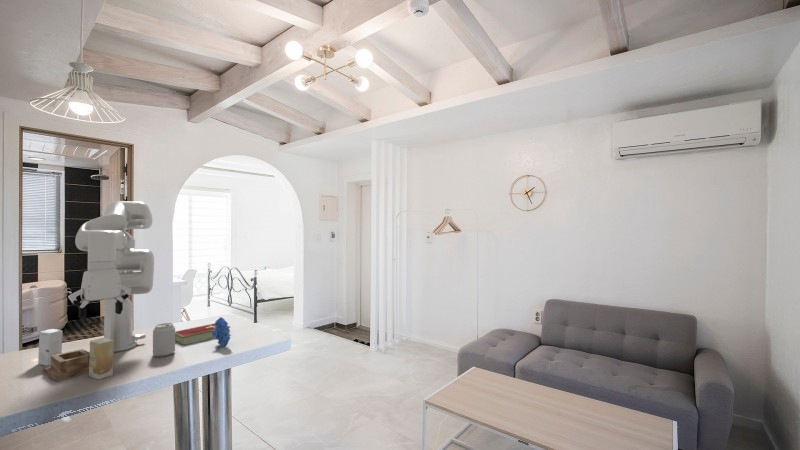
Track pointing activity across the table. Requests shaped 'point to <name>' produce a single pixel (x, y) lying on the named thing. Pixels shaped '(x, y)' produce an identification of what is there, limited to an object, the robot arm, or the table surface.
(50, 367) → the slotted stand
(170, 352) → the can
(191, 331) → the hardcover book
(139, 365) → the table surface
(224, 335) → the grapes
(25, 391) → the table surface
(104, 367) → the skincare box
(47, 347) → the skincare box
